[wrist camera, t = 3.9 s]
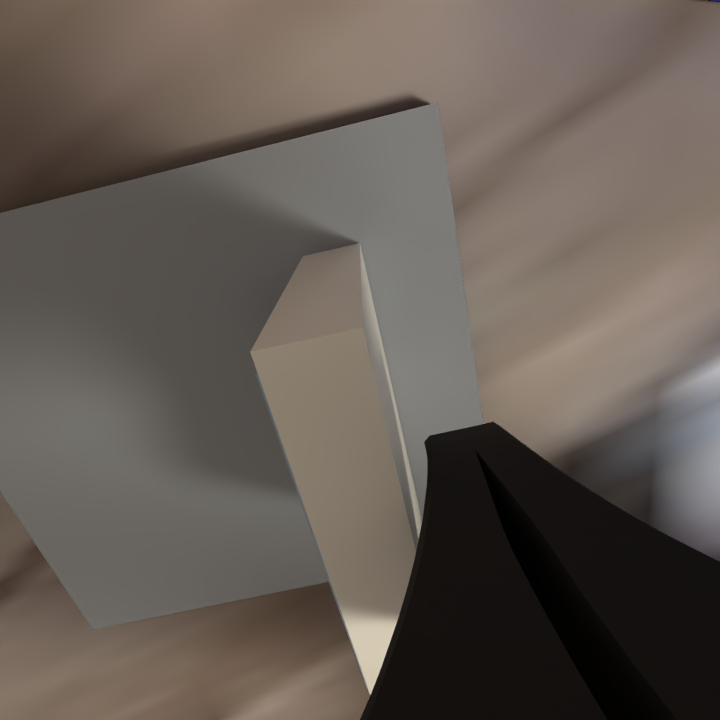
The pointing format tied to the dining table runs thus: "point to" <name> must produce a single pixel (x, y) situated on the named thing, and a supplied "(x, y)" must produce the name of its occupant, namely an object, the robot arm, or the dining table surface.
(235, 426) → the slate mat
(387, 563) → the block
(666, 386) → the dining table surface
